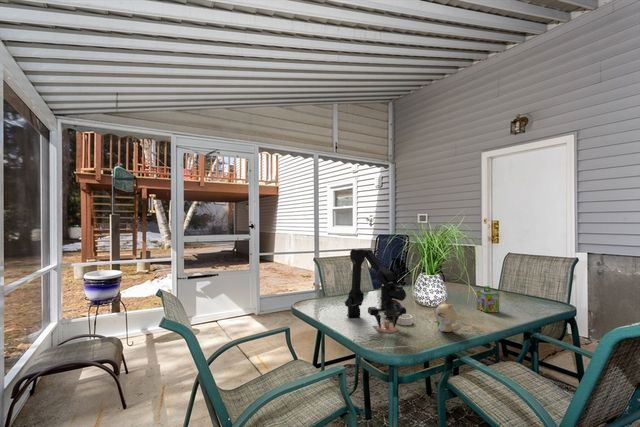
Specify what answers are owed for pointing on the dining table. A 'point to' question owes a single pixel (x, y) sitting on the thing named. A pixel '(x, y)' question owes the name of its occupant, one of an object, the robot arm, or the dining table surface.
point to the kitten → (446, 317)
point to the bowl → (405, 319)
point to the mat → (386, 333)
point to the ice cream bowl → (394, 304)
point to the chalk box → (487, 300)
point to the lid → (387, 327)
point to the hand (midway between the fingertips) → (387, 327)
